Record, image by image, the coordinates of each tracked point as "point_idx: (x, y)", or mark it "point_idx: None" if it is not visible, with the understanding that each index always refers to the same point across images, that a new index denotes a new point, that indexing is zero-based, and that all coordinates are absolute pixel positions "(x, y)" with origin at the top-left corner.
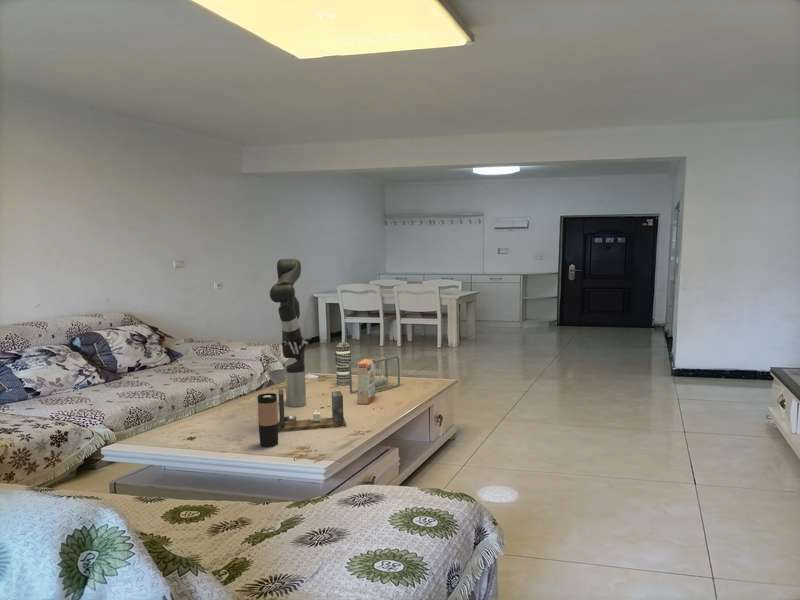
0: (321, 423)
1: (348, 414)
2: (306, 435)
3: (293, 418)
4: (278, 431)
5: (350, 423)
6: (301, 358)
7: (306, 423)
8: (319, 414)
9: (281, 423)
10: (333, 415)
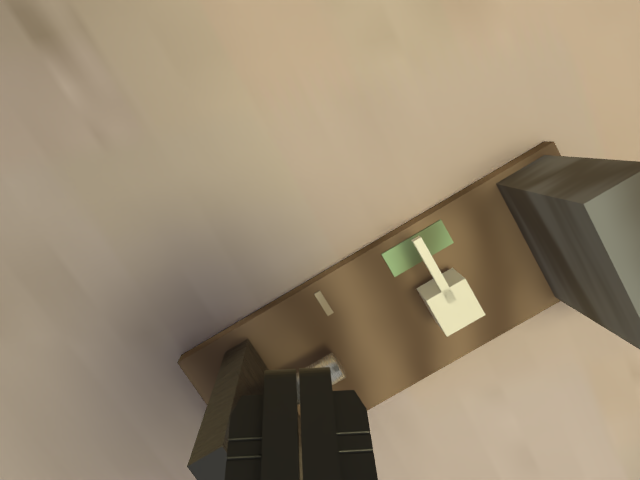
0: None
1: (532, 7)
2: (456, 454)
3: (332, 384)
4: None
5: None
6: (352, 402)
7: (392, 331)
8: (479, 315)
9: None
10: (549, 262)
